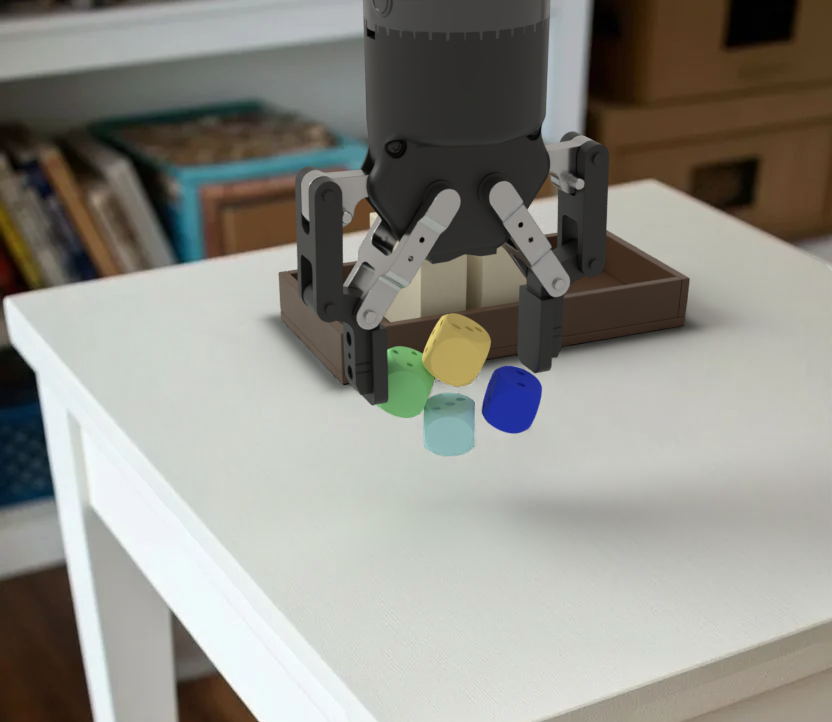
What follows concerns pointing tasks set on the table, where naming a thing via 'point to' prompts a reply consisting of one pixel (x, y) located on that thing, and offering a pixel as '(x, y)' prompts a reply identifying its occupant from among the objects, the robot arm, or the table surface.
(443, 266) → the block
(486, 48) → the robot arm
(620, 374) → the table surface
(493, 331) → the tray
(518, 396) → the dice
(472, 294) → the block
